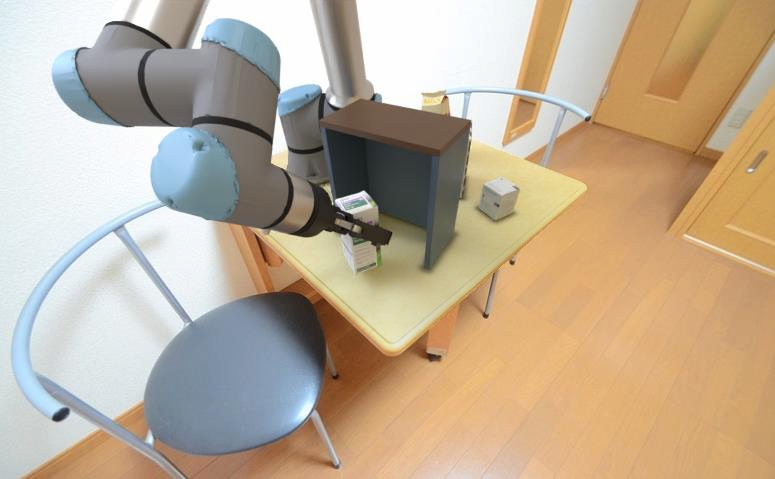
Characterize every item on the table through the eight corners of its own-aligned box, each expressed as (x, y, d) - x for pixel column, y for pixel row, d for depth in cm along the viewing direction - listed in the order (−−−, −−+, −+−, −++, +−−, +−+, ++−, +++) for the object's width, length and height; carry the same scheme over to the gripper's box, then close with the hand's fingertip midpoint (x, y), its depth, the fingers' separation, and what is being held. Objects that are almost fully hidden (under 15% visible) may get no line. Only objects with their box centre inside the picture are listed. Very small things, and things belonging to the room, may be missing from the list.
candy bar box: (446, 175, 91) (452, 118, 80) (464, 176, 90) (473, 119, 79) (443, 197, 83) (450, 137, 71) (462, 199, 82) (472, 138, 71)
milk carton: (451, 153, 100) (459, 86, 87) (438, 165, 95) (445, 96, 81) (425, 146, 104) (429, 81, 91) (412, 158, 98) (414, 90, 85)
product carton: (477, 208, 79) (482, 183, 74) (495, 200, 81) (501, 175, 76) (495, 221, 75) (502, 195, 70) (513, 213, 77) (521, 187, 72)
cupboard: (338, 232, 73) (318, 120, 56) (368, 204, 81) (360, 98, 64) (428, 270, 64) (440, 149, 46) (453, 234, 72) (471, 119, 54)
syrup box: (355, 276, 60) (347, 216, 50) (343, 257, 64) (334, 197, 54) (382, 265, 62) (379, 205, 52) (369, 247, 66) (364, 188, 56)
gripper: (231, 209, 45) (323, 231, 66) (346, 262, 37) (410, 268, 57) (248, 159, 45) (335, 197, 65) (368, 201, 36) (424, 229, 57)
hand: (370, 230), depth 61 cm, fingers closed on syrup box, 8 cm apart
